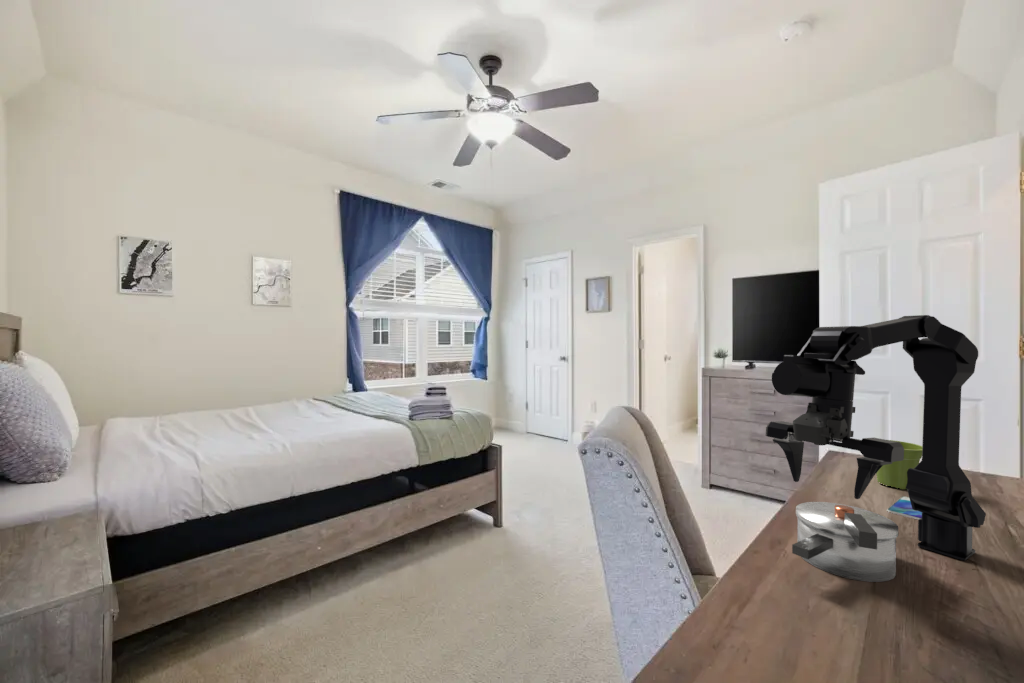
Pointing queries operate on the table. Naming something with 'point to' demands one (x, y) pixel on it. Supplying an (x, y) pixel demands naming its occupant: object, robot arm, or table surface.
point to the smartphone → (904, 508)
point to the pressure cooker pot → (846, 555)
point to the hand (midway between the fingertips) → (825, 489)
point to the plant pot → (900, 466)
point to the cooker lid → (848, 522)
